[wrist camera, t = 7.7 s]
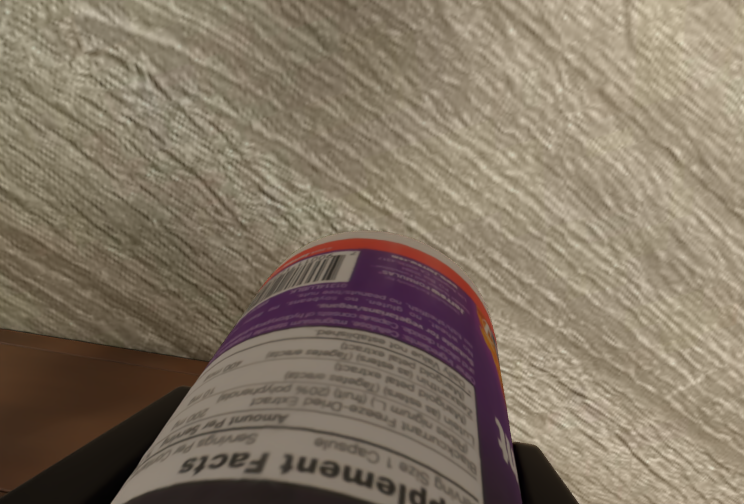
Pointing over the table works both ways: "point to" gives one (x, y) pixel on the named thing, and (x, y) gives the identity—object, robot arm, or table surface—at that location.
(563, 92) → the table surface
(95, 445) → the robot arm
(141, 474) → the pill bottle
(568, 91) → the table surface
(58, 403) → the cabinet
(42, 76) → the table surface
